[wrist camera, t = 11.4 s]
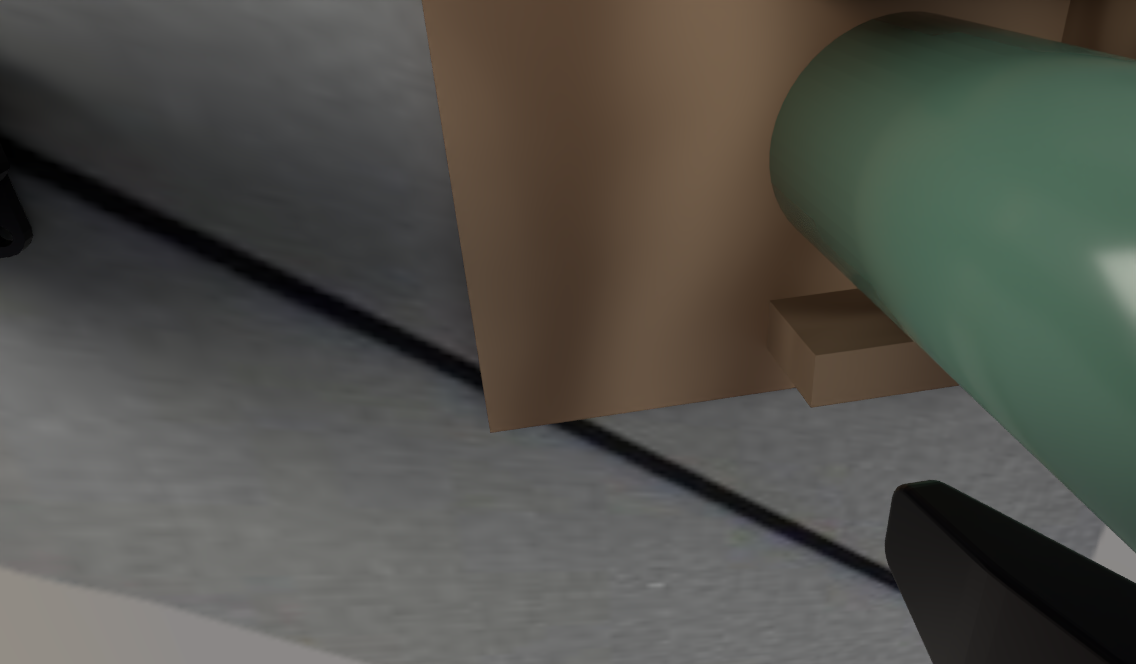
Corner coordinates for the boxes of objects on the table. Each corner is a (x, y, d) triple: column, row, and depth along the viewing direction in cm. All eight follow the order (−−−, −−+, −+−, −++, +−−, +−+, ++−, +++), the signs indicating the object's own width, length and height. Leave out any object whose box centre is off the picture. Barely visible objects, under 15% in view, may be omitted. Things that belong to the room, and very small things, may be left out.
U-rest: (488, 416, 22) (496, 503, 19) (400, -148, 16) (387, -165, 12) (1051, 334, 24) (1148, 402, 21) (1194, -215, 17) (1374, -246, 14)
